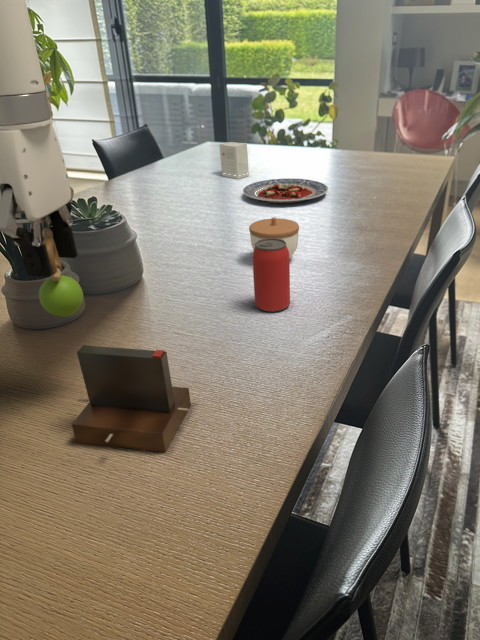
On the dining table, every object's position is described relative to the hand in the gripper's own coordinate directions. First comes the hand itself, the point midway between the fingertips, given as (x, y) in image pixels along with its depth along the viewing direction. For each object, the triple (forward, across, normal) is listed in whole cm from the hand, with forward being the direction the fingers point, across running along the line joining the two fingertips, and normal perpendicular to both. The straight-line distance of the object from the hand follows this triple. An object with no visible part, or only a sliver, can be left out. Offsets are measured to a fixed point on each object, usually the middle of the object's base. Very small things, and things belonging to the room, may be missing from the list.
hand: (53, 264), depth 71 cm
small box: (+19, -131, -10) cm, 133 cm away
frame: (+16, +7, +11) cm, 21 cm away
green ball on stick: (+7, 0, 0) cm, 7 cm away
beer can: (+19, -31, +22) cm, 43 cm away
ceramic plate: (+19, -107, +12) cm, 109 cm away
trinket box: (+19, -54, +18) cm, 60 cm away
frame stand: (+19, +7, +11) cm, 23 cm away
